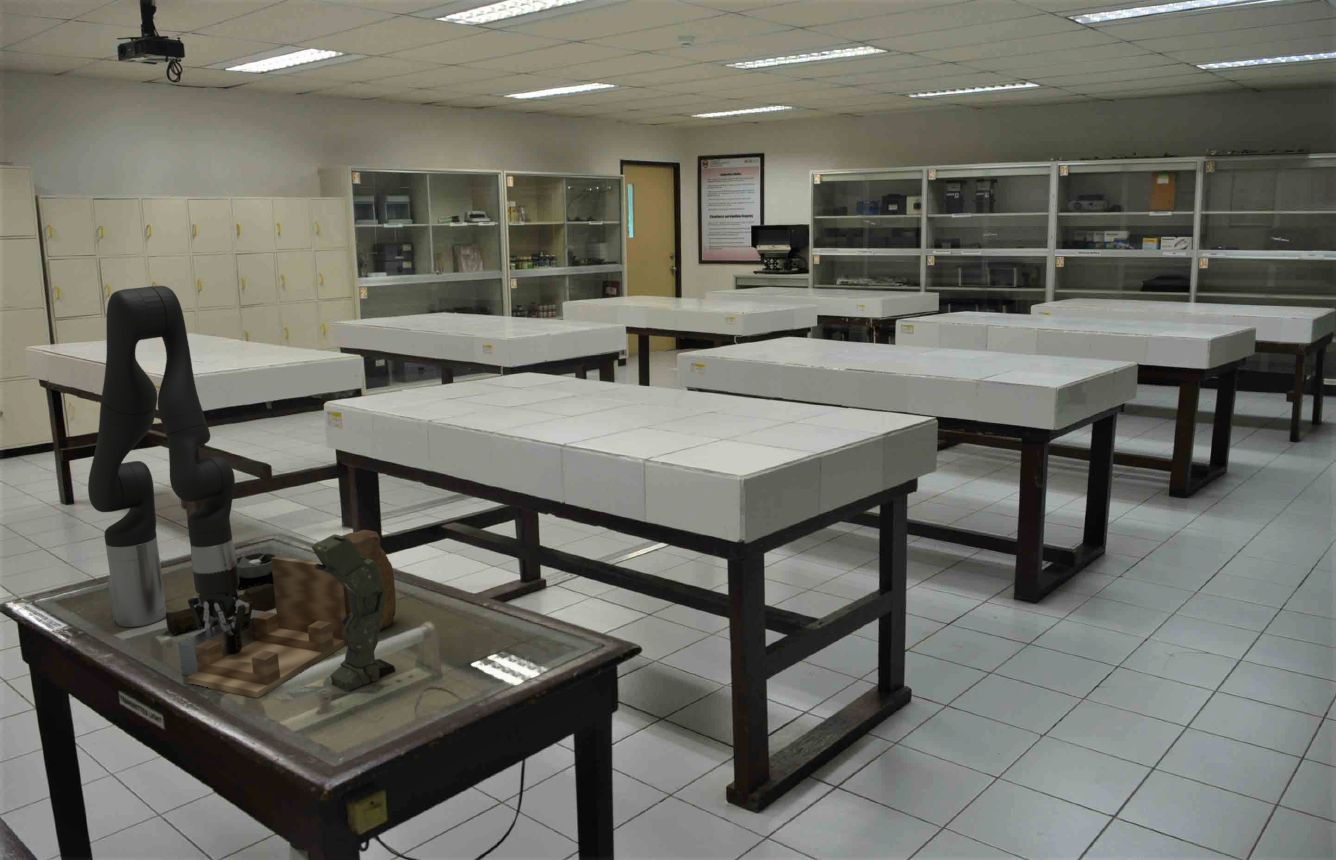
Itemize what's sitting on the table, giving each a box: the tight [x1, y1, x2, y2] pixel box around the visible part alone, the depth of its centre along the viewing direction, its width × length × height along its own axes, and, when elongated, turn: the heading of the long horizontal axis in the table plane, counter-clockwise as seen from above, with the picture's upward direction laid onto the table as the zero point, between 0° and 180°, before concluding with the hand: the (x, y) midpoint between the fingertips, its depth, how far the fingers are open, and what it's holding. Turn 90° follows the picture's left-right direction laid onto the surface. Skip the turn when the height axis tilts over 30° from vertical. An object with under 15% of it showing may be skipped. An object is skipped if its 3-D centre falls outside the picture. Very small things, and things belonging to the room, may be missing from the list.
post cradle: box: [186, 555, 347, 699], centre depth 178 cm, size 16×24×16 cm
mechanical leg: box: [311, 533, 396, 692], centre depth 170 cm, size 13×7×29 cm, turn 140°
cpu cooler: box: [236, 552, 276, 591], centre depth 221 cm, size 10×6×10 cm
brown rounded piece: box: [342, 529, 397, 632], centre depth 193 cm, size 11×8×20 cm
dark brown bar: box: [165, 583, 276, 636], centre depth 199 cm, size 23×5×6 cm, turn 129°
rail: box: [177, 610, 264, 677], centre depth 182 cm, size 4×17×6 cm, turn 159°
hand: (226, 650), depth 182 cm, fingers closed on rail, 4 cm apart
